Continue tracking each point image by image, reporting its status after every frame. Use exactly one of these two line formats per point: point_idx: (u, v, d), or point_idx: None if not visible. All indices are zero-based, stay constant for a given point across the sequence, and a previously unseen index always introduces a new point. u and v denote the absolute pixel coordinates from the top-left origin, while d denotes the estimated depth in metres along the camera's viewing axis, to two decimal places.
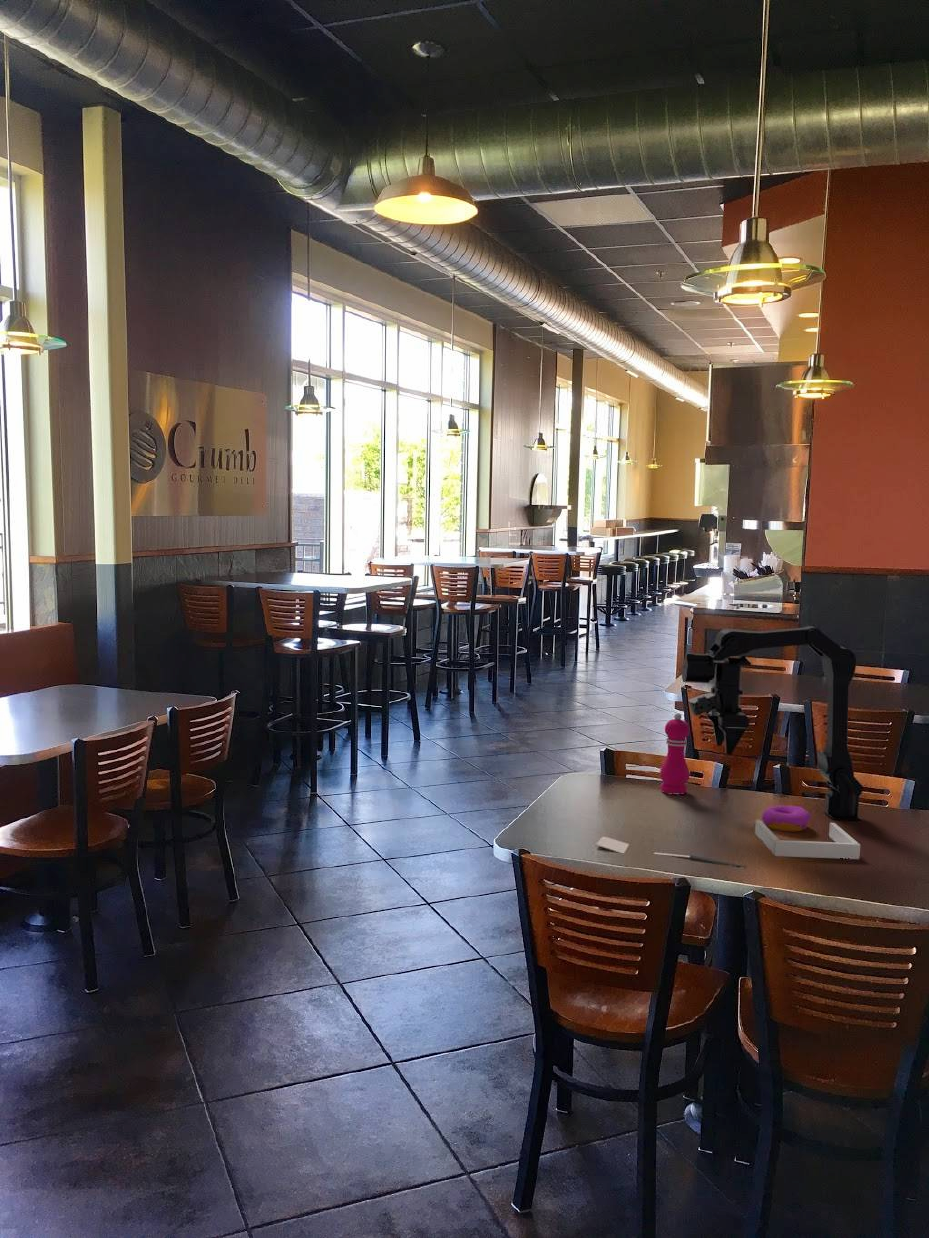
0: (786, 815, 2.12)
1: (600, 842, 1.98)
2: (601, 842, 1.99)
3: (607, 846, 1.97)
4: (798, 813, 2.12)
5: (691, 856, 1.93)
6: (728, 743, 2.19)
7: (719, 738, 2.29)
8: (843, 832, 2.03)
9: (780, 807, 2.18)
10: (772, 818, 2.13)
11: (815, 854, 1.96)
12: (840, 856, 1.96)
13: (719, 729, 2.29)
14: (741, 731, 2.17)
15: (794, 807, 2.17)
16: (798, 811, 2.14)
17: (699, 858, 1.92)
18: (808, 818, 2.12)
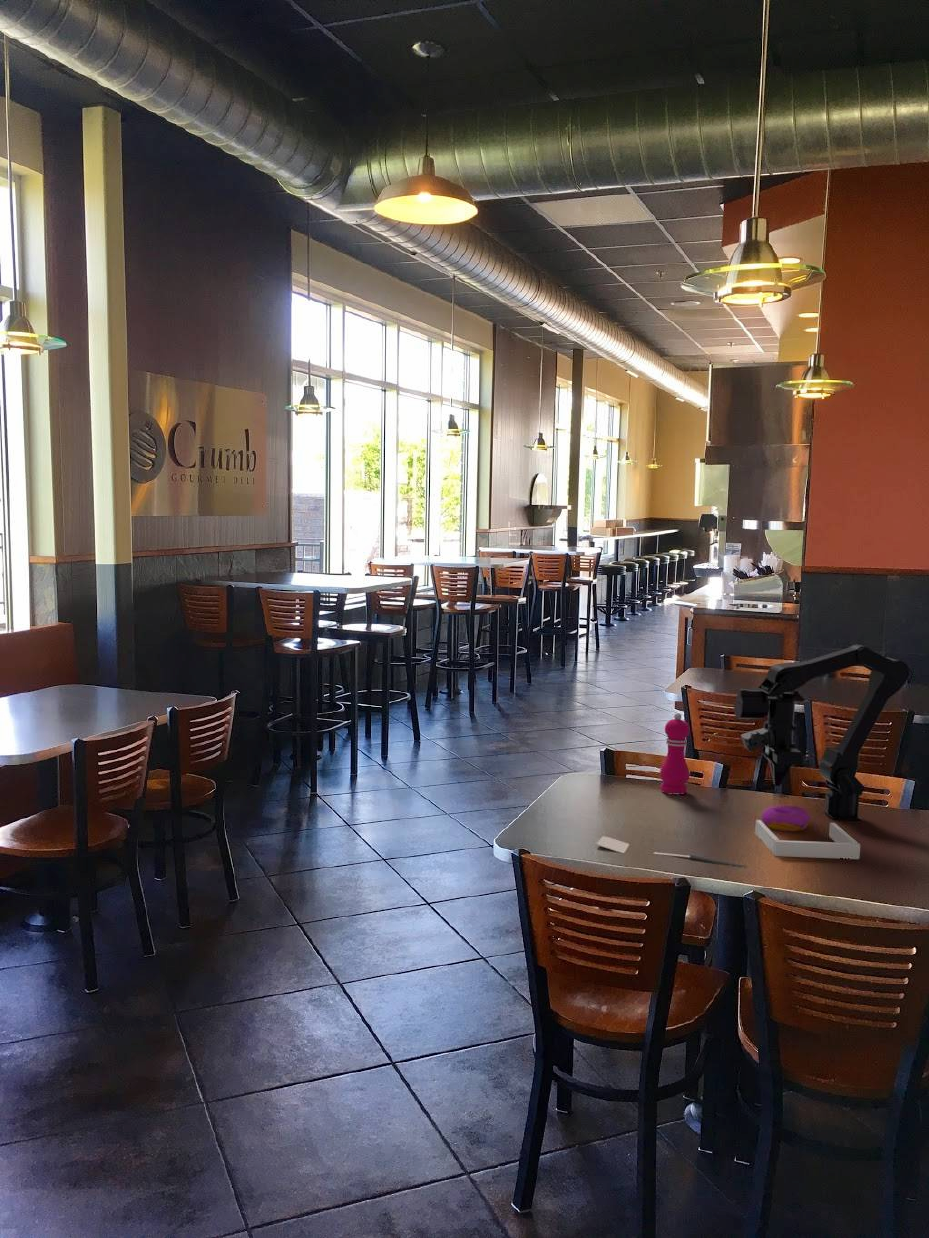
0: (785, 815, 2.12)
1: (600, 842, 1.99)
2: (601, 842, 1.99)
3: (607, 846, 1.97)
4: (797, 813, 2.12)
5: (691, 856, 1.93)
6: (776, 774, 2.23)
7: None
8: (843, 832, 2.03)
9: (779, 807, 2.18)
10: (771, 818, 2.13)
11: (815, 854, 1.96)
12: (840, 856, 1.96)
13: None
14: None
15: (793, 807, 2.17)
16: (797, 811, 2.14)
17: (699, 858, 1.92)
18: (807, 818, 2.12)
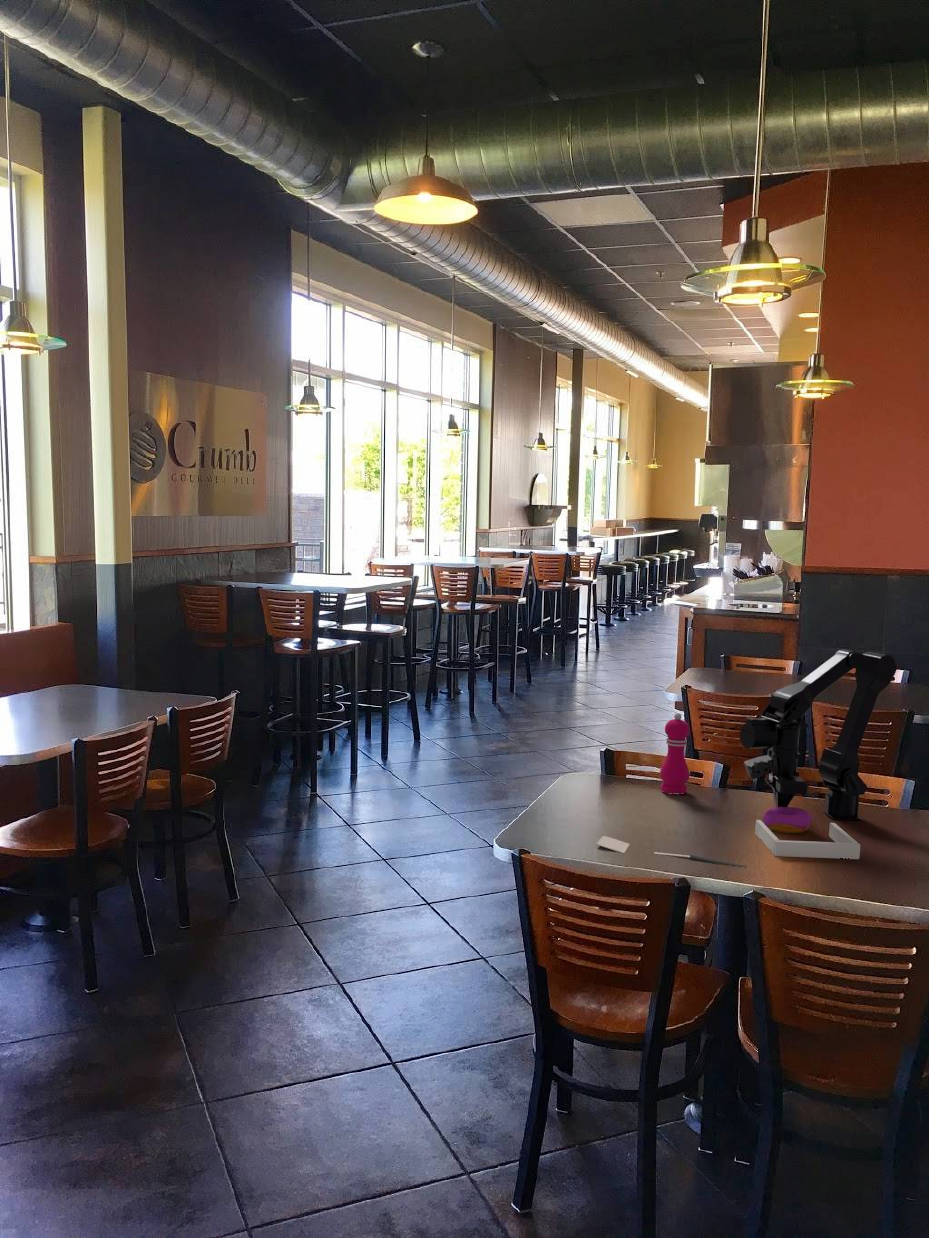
0: (787, 816, 2.10)
1: (600, 842, 1.99)
2: (601, 842, 1.99)
3: (607, 846, 1.97)
4: (799, 814, 2.11)
5: (691, 856, 1.93)
6: (780, 803, 2.19)
7: None
8: (843, 832, 2.03)
9: (781, 808, 2.17)
10: (773, 819, 2.11)
11: (815, 854, 1.96)
12: (840, 856, 1.96)
13: None
14: None
15: (795, 808, 2.15)
16: (799, 812, 2.12)
17: (699, 858, 1.92)
18: (809, 820, 2.11)
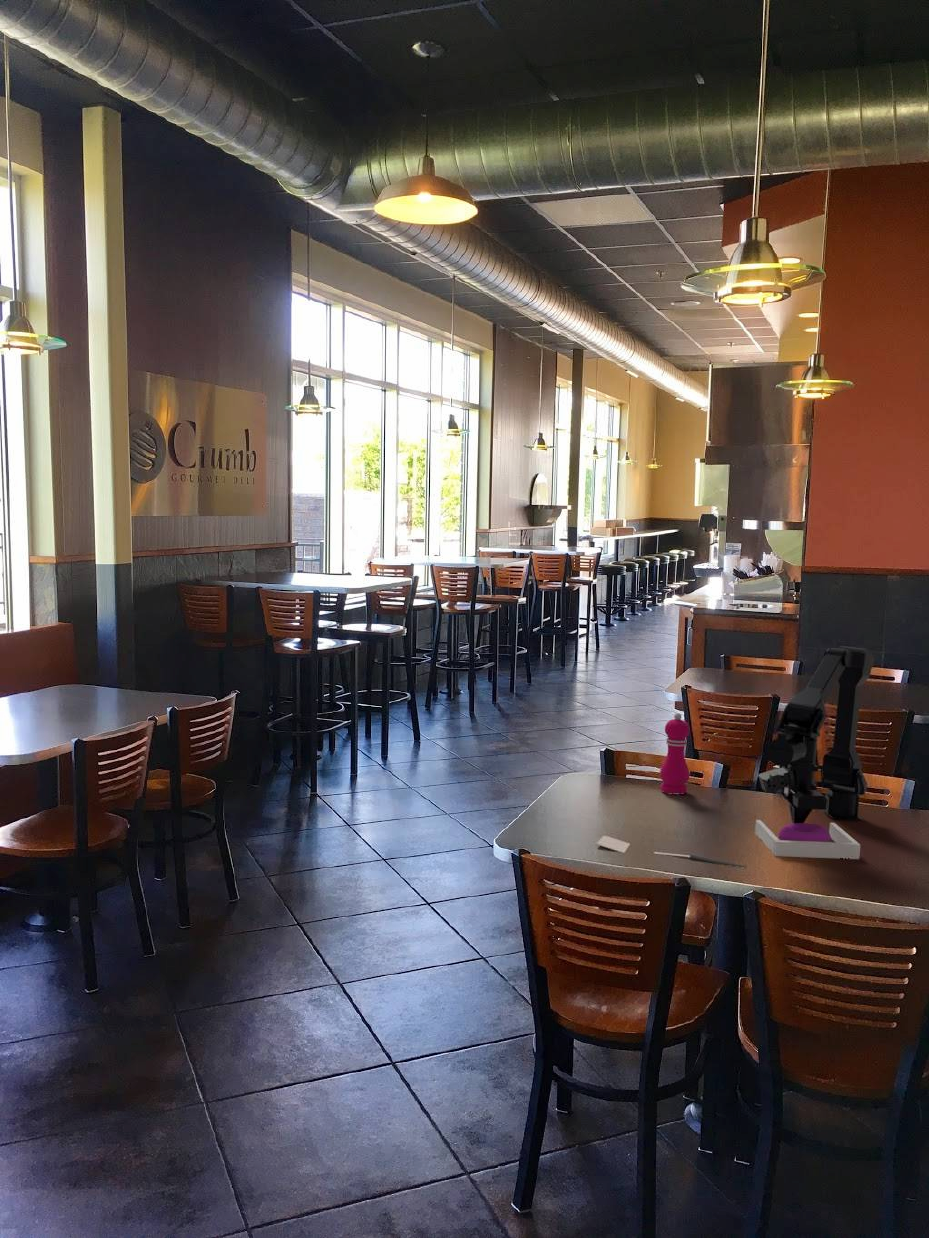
0: (805, 834, 1.99)
1: (601, 841, 1.99)
2: (602, 841, 1.99)
3: (607, 845, 1.97)
4: (817, 832, 1.99)
5: (691, 856, 1.93)
6: (796, 818, 2.07)
7: None
8: (843, 832, 2.03)
9: (798, 825, 2.05)
10: (790, 837, 2.00)
11: (815, 854, 1.96)
12: (840, 856, 1.96)
13: None
14: None
15: (813, 825, 2.04)
16: (817, 830, 2.01)
17: (699, 858, 1.92)
18: (828, 837, 1.99)
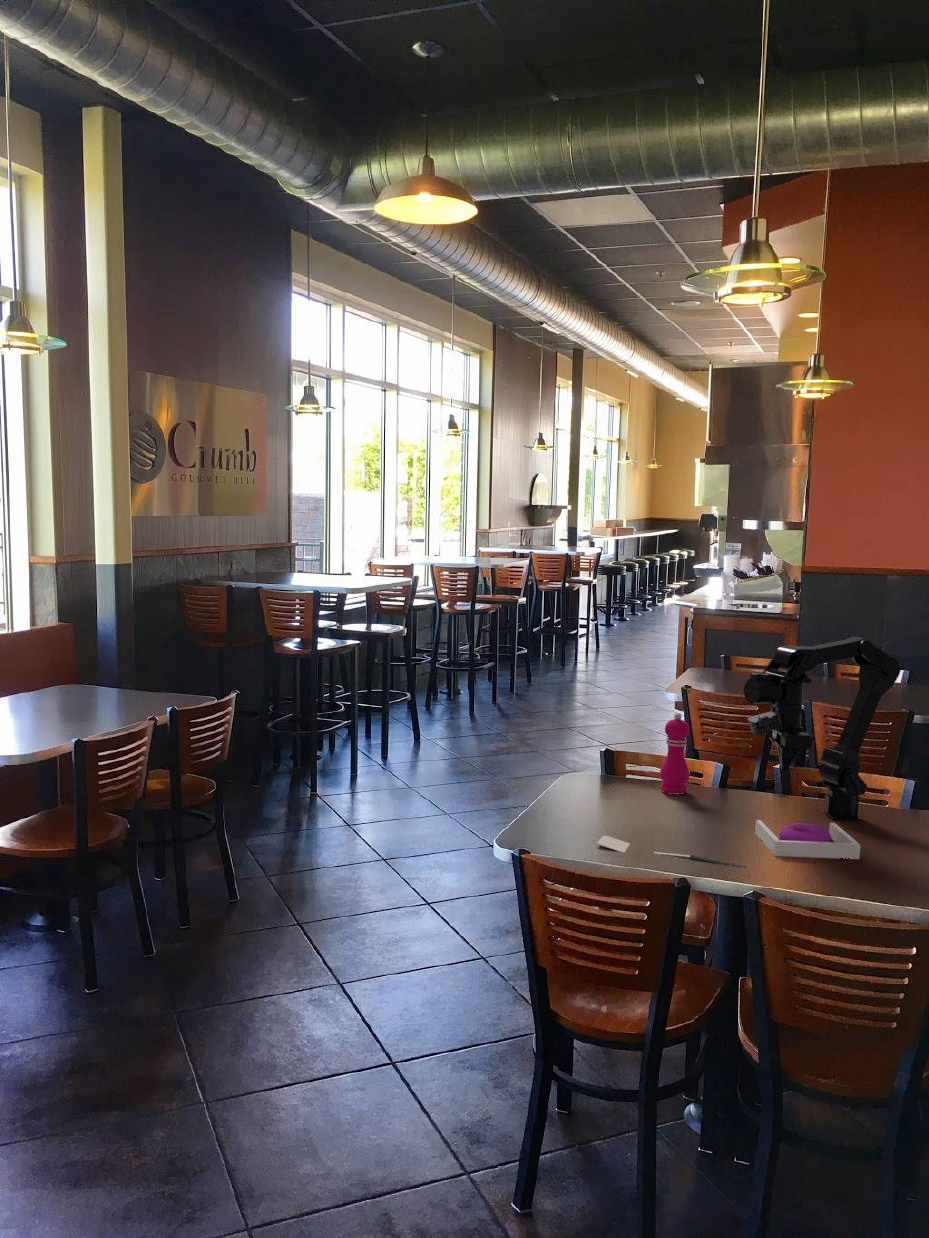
0: (805, 834, 1.99)
1: (601, 841, 1.99)
2: (602, 841, 1.99)
3: (608, 845, 1.98)
4: (818, 832, 1.99)
5: (691, 856, 1.93)
6: (784, 759, 2.17)
7: None
8: (843, 832, 2.03)
9: (798, 825, 2.05)
10: (790, 837, 2.00)
11: (815, 854, 1.96)
12: (840, 856, 1.96)
13: None
14: None
15: (813, 825, 2.04)
16: (818, 830, 2.00)
17: (699, 858, 1.92)
18: (829, 837, 1.99)
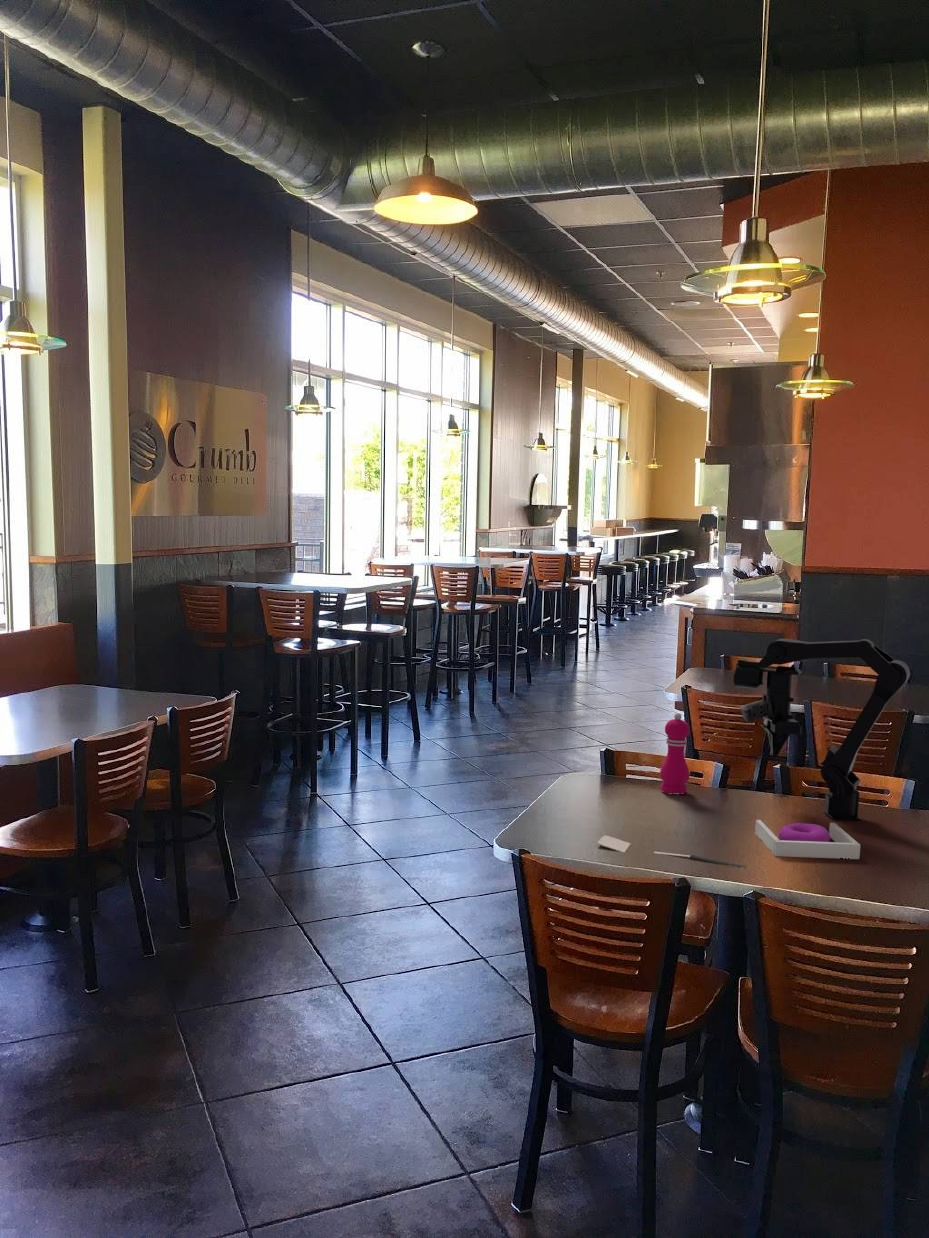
0: (804, 834, 1.99)
1: (601, 841, 1.99)
2: (602, 841, 1.99)
3: (608, 845, 1.98)
4: (817, 832, 1.99)
5: (691, 856, 1.93)
6: (774, 745, 2.31)
7: None
8: (843, 832, 2.03)
9: (798, 825, 2.05)
10: (789, 837, 2.00)
11: (815, 854, 1.96)
12: (840, 856, 1.96)
13: None
14: (787, 733, 2.30)
15: (813, 825, 2.04)
16: (817, 830, 2.00)
17: (699, 858, 1.92)
18: (828, 837, 1.99)
